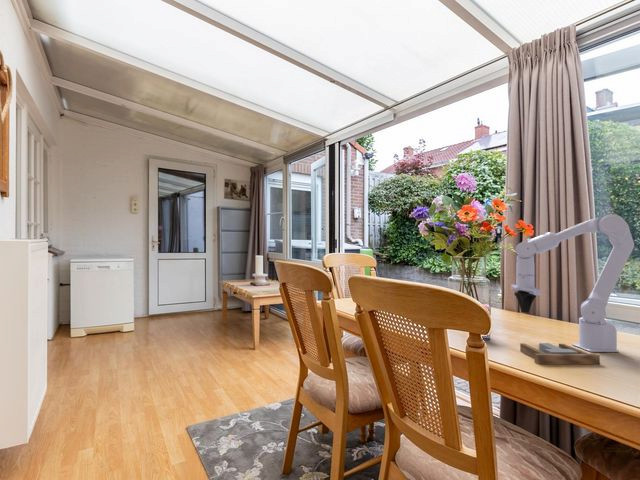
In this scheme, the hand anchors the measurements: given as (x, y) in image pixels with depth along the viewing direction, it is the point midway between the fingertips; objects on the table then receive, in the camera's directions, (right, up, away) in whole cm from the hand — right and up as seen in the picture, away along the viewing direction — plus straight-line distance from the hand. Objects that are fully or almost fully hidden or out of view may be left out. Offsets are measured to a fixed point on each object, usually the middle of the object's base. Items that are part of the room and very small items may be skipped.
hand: (525, 312), depth 124 cm
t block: (-4, -9, -21) cm, 23 cm away
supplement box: (-16, -10, +1) cm, 19 cm away
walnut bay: (-4, -9, -20) cm, 22 cm away
